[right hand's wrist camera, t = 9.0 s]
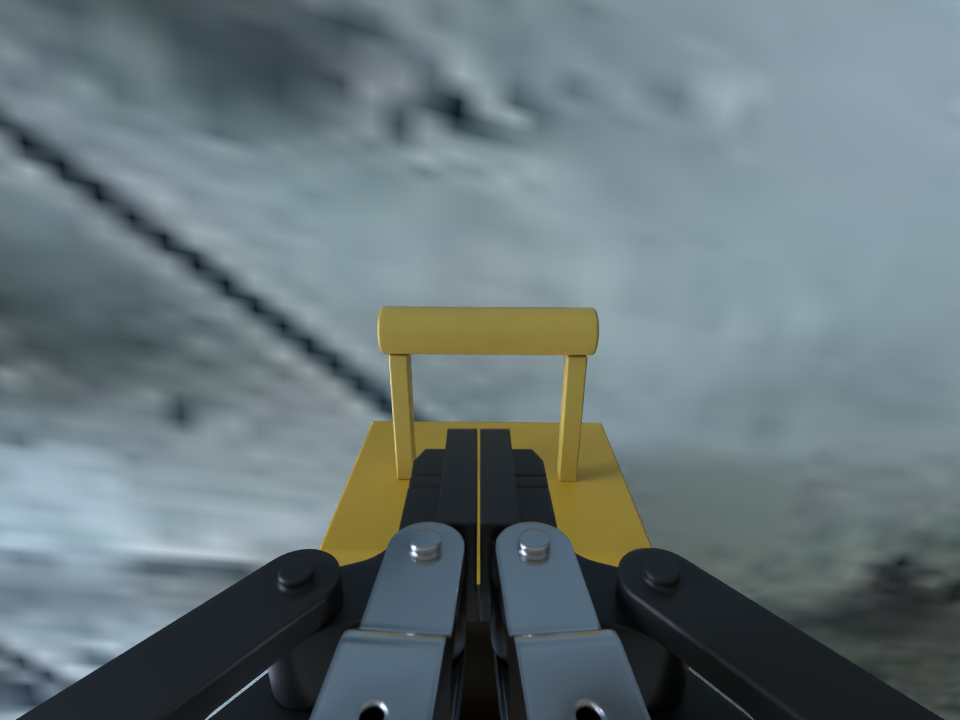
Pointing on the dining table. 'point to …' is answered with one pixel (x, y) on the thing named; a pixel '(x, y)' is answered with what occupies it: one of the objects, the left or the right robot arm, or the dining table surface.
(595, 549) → the drawer
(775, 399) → the dining table surface
